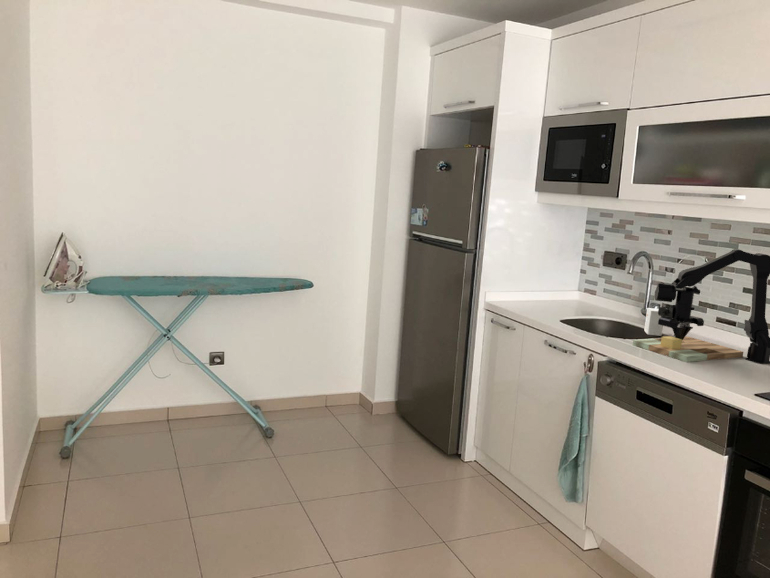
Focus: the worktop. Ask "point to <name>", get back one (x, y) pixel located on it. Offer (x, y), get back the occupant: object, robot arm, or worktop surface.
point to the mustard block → (671, 342)
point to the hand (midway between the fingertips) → (677, 343)
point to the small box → (653, 322)
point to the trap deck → (690, 349)
